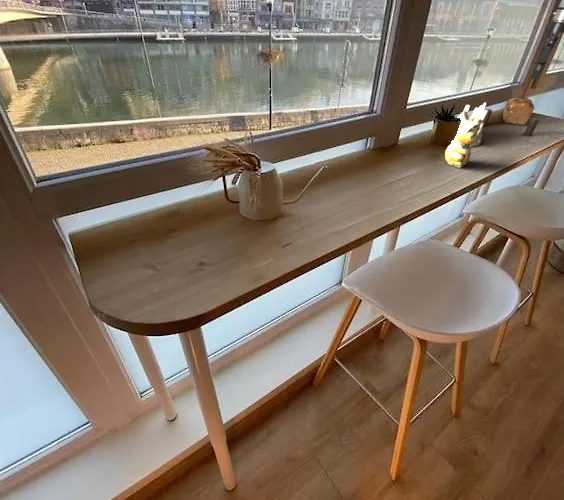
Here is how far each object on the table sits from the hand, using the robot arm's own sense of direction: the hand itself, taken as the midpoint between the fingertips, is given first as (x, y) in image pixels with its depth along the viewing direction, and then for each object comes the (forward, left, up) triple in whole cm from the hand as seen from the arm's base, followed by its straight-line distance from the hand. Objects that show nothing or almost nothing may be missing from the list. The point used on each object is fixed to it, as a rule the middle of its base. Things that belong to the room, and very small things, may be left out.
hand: (534, 78), depth 163 cm
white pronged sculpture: (+12, +66, -17) cm, 69 cm away
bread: (0, +15, -17) cm, 22 cm away
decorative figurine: (+6, +95, -17) cm, 96 cm away
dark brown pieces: (0, +37, -17) cm, 40 cm away
